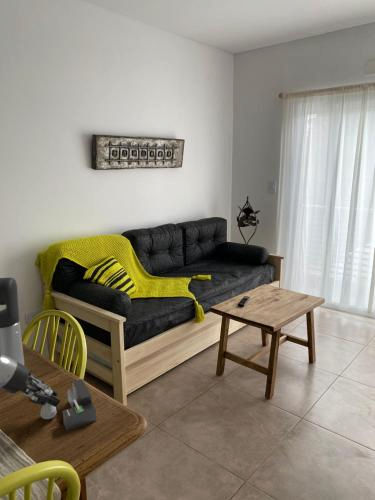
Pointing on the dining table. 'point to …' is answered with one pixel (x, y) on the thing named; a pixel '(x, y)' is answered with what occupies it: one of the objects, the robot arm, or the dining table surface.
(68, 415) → the gauge frame
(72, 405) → the gauge plate
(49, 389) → the rook chess piece
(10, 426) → the dining table surface
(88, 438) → the dining table surface
